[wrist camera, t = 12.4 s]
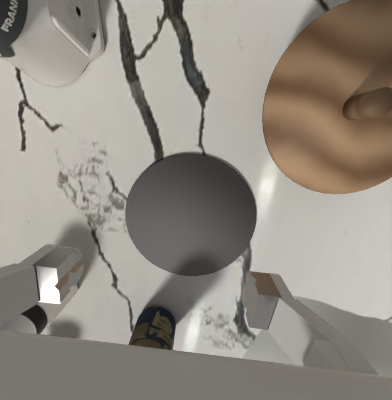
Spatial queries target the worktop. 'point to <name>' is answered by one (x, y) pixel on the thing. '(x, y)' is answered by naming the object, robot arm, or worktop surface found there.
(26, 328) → the jar
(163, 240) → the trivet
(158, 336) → the canister
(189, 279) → the worktop surface
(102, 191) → the worktop surface
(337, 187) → the lid
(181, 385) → the robot arm
